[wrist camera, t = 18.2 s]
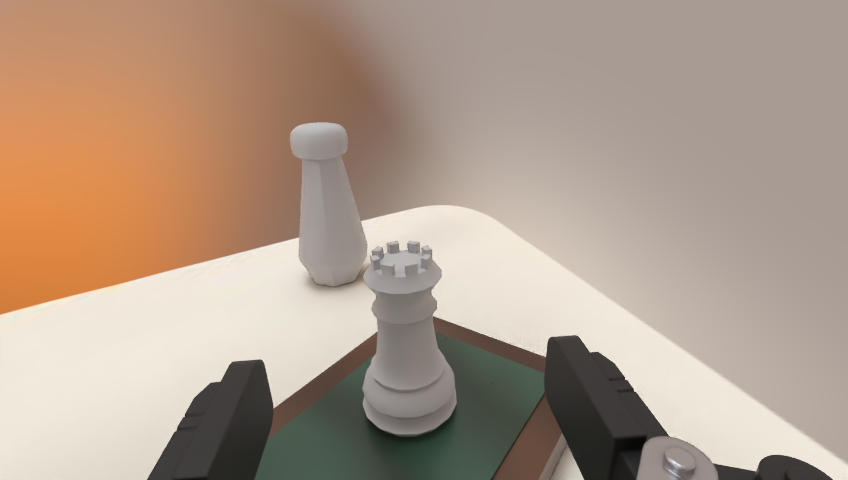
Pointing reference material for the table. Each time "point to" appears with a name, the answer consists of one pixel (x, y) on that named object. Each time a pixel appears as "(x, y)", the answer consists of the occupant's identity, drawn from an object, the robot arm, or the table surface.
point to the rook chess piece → (406, 345)
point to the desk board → (432, 452)
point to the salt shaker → (327, 206)
